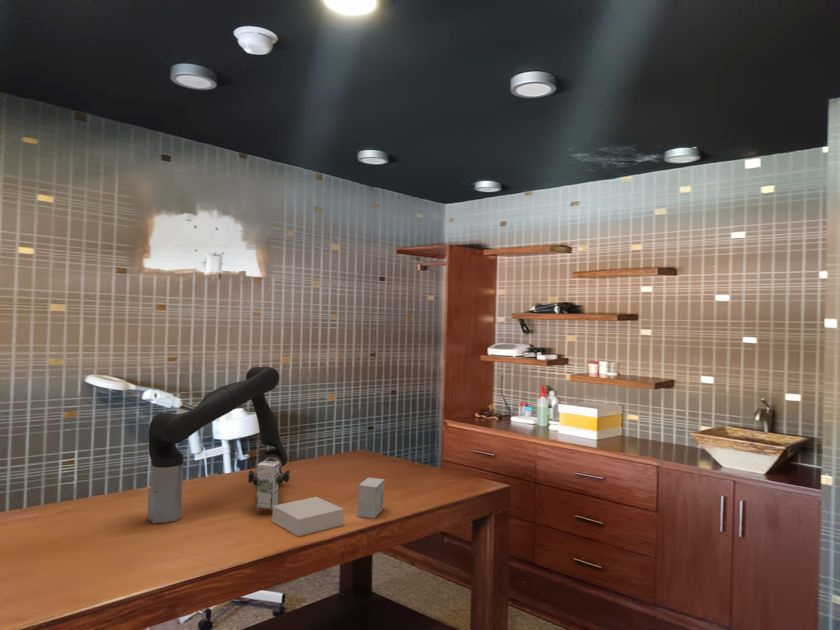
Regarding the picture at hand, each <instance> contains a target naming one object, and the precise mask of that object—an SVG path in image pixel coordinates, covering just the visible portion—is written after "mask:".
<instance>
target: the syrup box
mask: <svg viewBox="0 0 840 630" xmlns="http://www.w3.org/2000/svg"><path fill="white" fill-rule="evenodd" d="M256 469H257V471H256V473H257V486H256V495H255V497H256V498H255V500H256V501H255V508H256V509H263V510H264V509H265V510H273V506H275V505H279V485H278V477H279V462H274V461H262V462H260V463H259V462H258V464H257V468H256Z"/></svg>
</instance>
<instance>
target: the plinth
mask: <svg viewBox="0 0 840 630" xmlns="http://www.w3.org/2000/svg"><path fill="white" fill-rule="evenodd" d="M271 520H272V523H274V524H276V525H278V526H279V527H280V528H282V527H283V529H284V528H285V529H284V530H285V531H287V532H289V531H290V533H291V534H293V535H294V536H297V537H303V536H306V535H310V534H312V533H317V532H322V531H325V530H328V529H333V528H336V527H340V526H343V525H344V508H342V507H340V506H338V505H337V504H334V503H331V502H329V501H326V500H324V499H323V498H320V497H318V496H313V497H309V498H305V499H300V500H295V501H289V502H285V503H281V504H280V503H279V504H277V505H275V506H273V509H272V519H271Z"/></svg>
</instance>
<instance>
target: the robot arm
mask: <svg viewBox="0 0 840 630" xmlns="http://www.w3.org/2000/svg"><path fill="white" fill-rule="evenodd" d="M245 375H246V376H245V380H240V381H237V382H233V383H229V384H226V385H223V386H219V387H218V388H217V389H214V390H212V391H210V392H208V393H207V394H205V396H204V397H203V398H202V399H201V400H200V402H199V404H198V405H197V406H195V407H194V408H191V409H189V410H187V411H185V412H182V413H171V412H160V413H157V414H156V415H154V416H153V418H152V419H151V421H150V423H149V428H148V455H149V457H150V460H151V467H150V469H151V470H150V487H149V488H148V490H147V491H148V492H147V493H148V494H147V518H146V519H147V520H148V521H150V522H151V523H152V524H154V525H155V524H164V523H165V524H166V523H167V524H168V523H172V522H176V521H178V520H180V519H181V518H182V508H183V507H182V503H183V501H182V500H183V475H184V454H183V453H182V452H181V451H180V450H179V449H178V447H177V446H176V445H177V444H179V443H181V442H183V441H186V439H188V438H189V437H191V436H192V435H194V434H195V433H196V432H198V431H199V430H200V429H202V428H204V427H205V426H207V425H209V424H210V423H212V422H214V421H216V420H217V419H220V418H221V417H223V416H225V415H227V414H229V413H231V412H233V411H235V409H237V408H239V407H241V406H242V405H244V404H246V403H248V402H249V401H251V403H252V405H253V409H254V412H255V415H256V418H257V424H258V430H259V436H260V443H261V444H262V445H263V446H271V447H274V449H269V450H264V451H262V452H261V453H259V456H258V461H259V462H258V464H259V463H260V462H262V461H274V462H279V477H278V486H281V485H282V484H283V483H288V482H289V480H290V476H291V475H290V474H291V470H289V469H288V470H286V471H284V472H282V471H283V470H282V469H283V467H285V466H286V464H287V463H288V459H289V457H288V453H287V452H286V450H285V447H284V445H283V443H282V441H281V437H280V431H279V424H278V421H277V418H276V415H275V414H274V412H273V410H272V409H271V407H270V405H269V404H268V401H267V398H266V396H265V395H266V394H267V393H268V392H271V391H272V390H274V389H275V388H276V387H277V386H278V384H279V381H280V373H279V372H278V370H277V369H276V368H274V367H271V366H253V367H251V368H250V369H249V370H248V371H247V372H246V374H245ZM247 477H248V478H247V479H248V480H247V482H248V483H249V484H251V483H252V484H253V485H254V486H256V487H257V472H255V471H253V470H249V471H248V476H247Z"/></svg>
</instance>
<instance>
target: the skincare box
mask: <svg viewBox="0 0 840 630" xmlns="http://www.w3.org/2000/svg"><path fill="white" fill-rule="evenodd" d="M384 491H385V479H384V478H375V477H367V478H366V479H364V480H363V481H362V482H361V483H360V484H358V494H357V496H358V497H357V498H358V499H357V511H356V512H357V513H356V517H358V518H369V519H376V517H378V515H379V514H381V512H382V511H383V510H384Z"/></svg>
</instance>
